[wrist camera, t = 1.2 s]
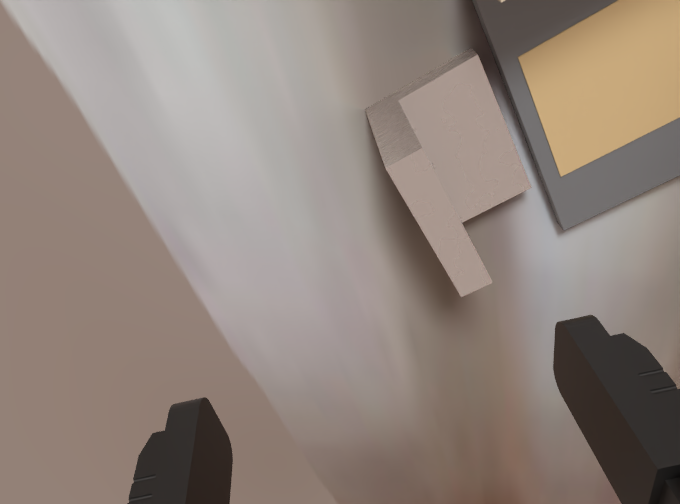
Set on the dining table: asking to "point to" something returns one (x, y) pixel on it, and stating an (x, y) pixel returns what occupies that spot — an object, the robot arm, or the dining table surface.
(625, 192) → the board
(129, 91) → the dining table surface
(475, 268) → the bracket
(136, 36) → the dining table surface
